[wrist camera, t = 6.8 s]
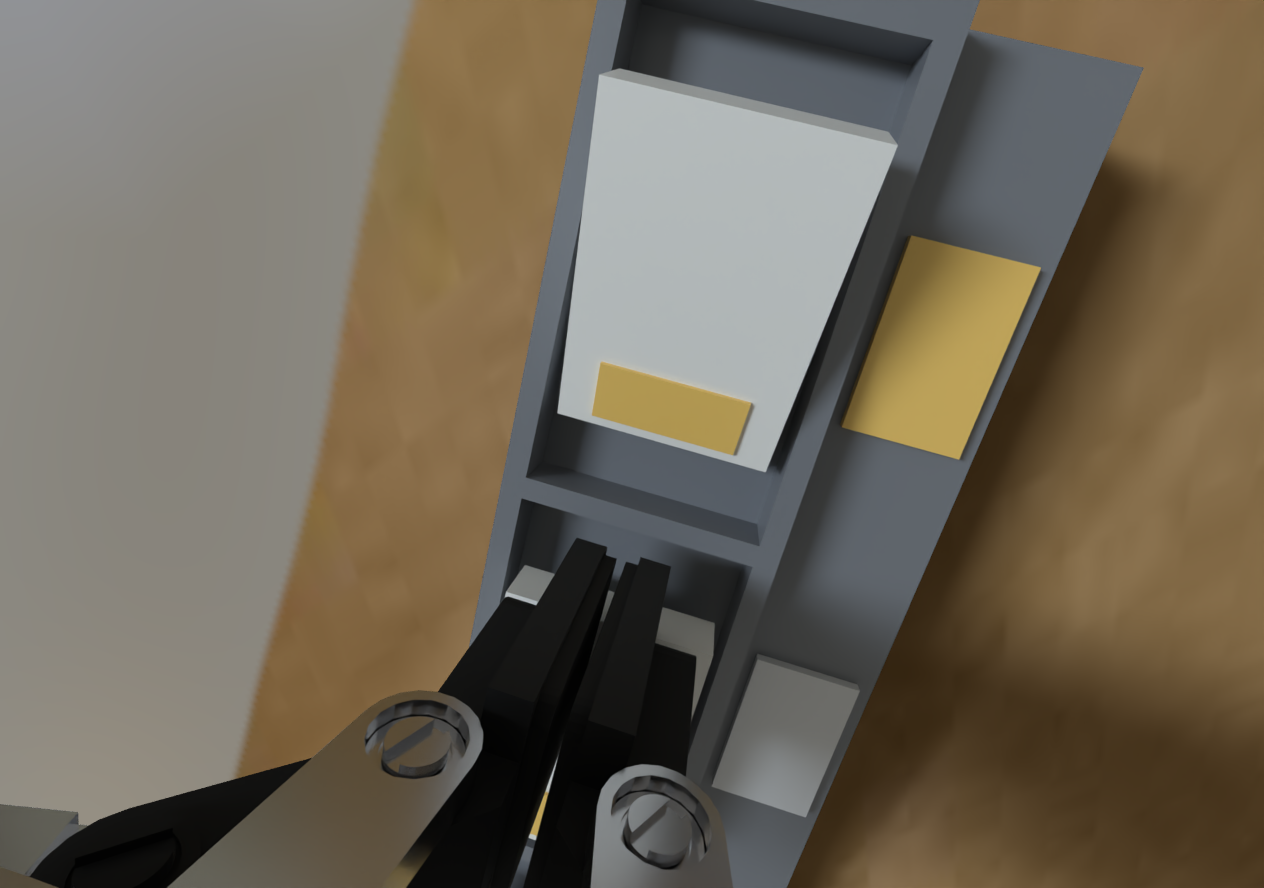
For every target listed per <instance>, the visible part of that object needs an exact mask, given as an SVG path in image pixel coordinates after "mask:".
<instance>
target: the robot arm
mask: <svg viewBox="0 0 1264 888" xmlns="http://www.w3.org/2000/svg"><path fill="white" fill-rule="evenodd" d="M606 552H607V547H606V546H603V545H600V544H596V543H593V542H590V541H587V540H583V539H580V538H576V539H575V541H574V543H573V544H572V546H571V548H570V549H569V551H568V553H567V554H566V556H565V558H564V559H563V561H562V563H561V565H560V566H559V568H558V570H557V571H556V573H555V575H554V576H553V578H552V580H551V581H550V583H549V585H548V586H547V588H546V590H545V591H544V593H543V595H542V597H541V598H540V600H539V602H538V603H537V605H534V604H531V603H527V602H524V601H521V600H518V599H515V598H512V597H509V596H508V597H505V598H504V600H503V601H502V602H501V603H500V605H499V606H498V607H497V609H496V610H495V612H494V613H493V615H492V616H491V617H490V619H489V620H488V622H487V623H486V624H485V626H484V627H483V629H482V630H481V632H480V633H479V634H478V636H477V637H476V639H475V640H474V641H473V643H472V644H471V646H470V647H469V649H468V650H467V651H466V653H465V654H464V656H463V657H462V658H461V660H460V661H459V663H458V664H457V666H456V667H455V668H454V670H453V671H452V673H451V674H450V675H449V677H448V678H447V680H446V681H445V683H444V684H443V685H442V687H441V688H440V690H439V691H438V692H433V691H421V690H418V691H410V692H403V693H398V694H395V695H393V696H390V697H387V698H384V699H382V700H380V701H379V702H377V703H376V704H374V705H373V706H371V707H370V708H368V709H367V710H365V711H364V712H363V713H362V714H361V715H360V716H359V717H358V718H356V719H355V720H354V721H353V722H352V723H351V724H350V725H349V726H347V727H346V728H345V729H344V730H343V731H342V732H341V733H340V734H339V735H337V736H336V737H335V738H334V739H333V740H332V741H331V742H330V743H328V744H327V745H326V746H325V747H324V748H323V749H322V750H321V751H319V752H318V753H317V754H316V755H315V756H314V757H313V758H310V759H306V760H303V761H299V762H295V763H292V764H288V765H285V766H281V767H277V768H274V769H270V770H266V771H263V772H259V773H256V774H252V775H248V776H245V777H241V778H238V779H234V780H230V781H227V782H223V783H220V784H216V785H212V786H209V787H205V788H201V789H198V790H195V791H191V792H187V793H183V794H180V795H176V796H173V797H169V798H165V799H162V800H158V801H155V802H151V803H147V804H144V805H140V806H136V807H133V808H129V809H127V810H124V811H121V812H118V813H116V814H113V815H110V816H108V817H105V818H103V819H100V820H98V821H96V822H94V823H92V824H91V825H89V826H87V825H78V812H70V811H60V810H50V809H41V808H32V807H21V806H12V805H2V804H0V888H511V885H512V882H513V879H514V877H515V874H516V871H517V868H518V866H519V863H520V860H521V857H522V855H523V852H524V849H525V846H526V844H527V841H528V838H529V835H530V832H531V830H532V827H533V824H534V821H535V819H536V816H537V813H538V810H539V808H540V805H541V802H542V799H543V797H544V794H545V791H546V788H547V786H548V783H549V780H550V777H551V775H552V772H553V769H554V766H555V764H556V767H555V770H554V774H553V778H552V781H551V785H550V789H549V793H548V796H547V800H546V804H545V808H544V811H543V815H542V819H541V822H540V826H539V830H538V834H537V837H536V841H535V845H534V849H533V852H532V856H531V860H530V863H529V867H528V871H527V875H526V878H525V882H524V886H523V888H733V884H732V877H731V870H730V863H729V856H728V849H727V842H726V835H725V830H724V827H723V824H722V820H721V817H720V814H719V812H718V810H717V809H716V807H715V806H714V804H713V802H712V801H711V799H710V798H709V796H708V795H707V794H706V793H705V792H704V791H703V790H702V789H701V788H700V787H699V786H698V785H697V784H696V783H695V782H693V781H692V780H690V779H688V778H687V777H686V771H687V760H688V749H689V738H690V727H691V717H692V706H693V695H694V684H695V674H696V660H697V658H696V656H695V655H692V654H689V653H685V652H682V651H679V650H676V649H673V648H670V647H666V646H663V645H660V644H657V643H655V641H656V636H657V632H658V627H659V622H660V617H661V613H662V608H663V603H664V598H665V593H666V589H667V584H668V579H669V574H670V570H671V566H668V565H665V564H662V563H659V562H655V561H652V560H649V559H645V558H642V557H640V560H639V563H638V565H636V564H633V563H630V562H626V563H625V566H624V568H623V571H622V574H621V577H620V579H619V582H618V585H617V587H616V590H615V593H614V595H613V598H612V601H611V604H610V606H609V609H608V612H607V614H606V617H605V620H604V623H603V625H602V628H601V631H600V633H599V636H598V639H597V642H596V644H595V647H594V650H593V652H592V648H593V644H594V641H595V637H596V633H597V630H598V626H599V622H600V619H601V616H602V612H603V609H604V605H605V601H606V598H607V594H608V590H609V587H610V583H611V579H612V576H613V572H614V568H615V564H616V560H617V558H613V557H610V556H607V555H606ZM591 652H592V655H591ZM590 655H591V658H590ZM589 659H590V660H589ZM557 758H558V759H557ZM556 761H557V763H556Z"/></svg>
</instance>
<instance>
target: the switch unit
mask: <svg viewBox="0 0 1264 888" xmlns="http://www.w3.org/2000/svg"><path fill="white" fill-rule="evenodd" d="M979 1H980V0H598V1H597V6H596V11H595V16H594V21H593V26H592V31H591V36H590V41H589V46H588V51H587V56H586V61H585V66H584V71H583V76H582V81H581V86H580V91H579V96H578V101H577V106H576V111H575V116H574V121H573V126H572V131H571V136H570V141H569V147H568V152H567V157H566V162H565V167H564V172H563V177H562V182H561V187H560V192H559V197H558V202H557V207H556V212H555V217H554V222H553V227H552V232H551V237H550V242H549V247H548V252H547V257H546V262H545V267H544V272H543V277H542V282H541V287H540V292H539V298H538V303H537V308H536V313H535V318H534V323H533V328H532V333H531V338H530V343H529V348H528V353H527V358H526V363H525V368H524V373H523V378H522V383H521V388H520V393H519V398H518V403H517V408H516V413H515V418H514V423H513V428H512V433H511V438H510V444H509V449H508V454H507V459H506V464H505V469H504V474H503V479H502V484H501V489H500V494H499V499H498V504H497V509H496V514H495V519H494V524H493V529H492V534H491V539H490V544H489V549H488V554H487V559H486V564H485V569H484V574H483V579H482V584H481V590H480V595H479V600H478V605H477V610H476V615H475V620H474V625H473V630H472V635H471V640H470V645H469V647H470V646H471V644H472V643H473V641H474V640H475V639H476V637H477V636H478V634H479V633H480V632H481V630H482V629H483V627H484V626H485V624H486V623H487V622H488V620H489V619H490V617H491V616H492V615H493V613H494V612H495V610H496V609H497V607H498V606H499V605H500V603H501V602H502V601H503V600H504V598H505V594H506V591H507V590H508V588H509V587H510V585H511V584H512V583H513V581H514V580H515V578H516V577H517V576H518V574H519V573H520V571H521V570H522V568H523V567H524V566H525V565H527V566H530V567H533V568H537V569H540V570H543V571H547V572H550V573H553V574H555V573H556V571H557V570H558V568H559V566H560V565H561V563H562V561H563V559H564V558H565V556H566V554H567V553H568V551H569V549H570V548H571V546H572V544H573V543H574V541H575V539H576V538H580V539H583V540H587V541H590V542H593V543H596V544H600V545H603V546H606V547H607V552H606V555H607V556H610V557H613V558H617V560H616V564H615V568H614V572H613V576H612V579H611V583H610V587H609V591H612V592H615V590H616V587H617V585H618V582H619V579H620V577H621V574H622V571H623V568H624V566H625V563H626V562H630V563H633V564H636V565H638V563H639V560H640V557H642V558H645V559H649V560H652V561H655V562H659V563H662V564H665V565H668V566H671V570H670V574H669V579H668V584H667V589H666V593H665V598H664V603H663V607H664V608H667V609H671V610H674V611H677V612H680V613H684V614H687V615H690V616H693V617H697V618H700V619H703V620H706V621H710V622H713V623H715V628H714V650H713V658H712V661H711V664H710V667H709V670H708V673H707V676H706V679H705V682H704V685H703V688H702V691H701V694H700V697H699V700H698V703H697V705H696V708H695V711H694V714H693V717H692V720H691V727H690V738H689V749H688V760H687V771H686V777H687V778H688V779H690V780H692V781H693V782H695V783H696V784H697V785H698V786H699V787H700V788H701V789H702V790H703V791H704V792H705V793H706V794H707V795H708V796H709V798H710V799H711V801H712V802H713V804H714V806H715V807H716V809H717V810H718V812H719V814H720V817H721V820H722V824H723V827H724V830H725V835H726V842H727V849H728V856H729V863H730V870H731V877H732V884H733V888H787V886H788V883H789V881H790V879H791V876H792V874H793V872H794V870H795V867H796V865H797V863H798V860H799V858H800V856H801V853H802V851H803V849H804V847H805V844H806V842H807V840H808V837H809V835H810V833H811V831H812V828H813V826H814V824H815V821H816V819H817V817H818V814H819V812H820V810H821V808H822V805H823V803H824V801H825V798H826V796H827V794H828V791H829V789H830V787H831V785H832V782H833V780H834V778H835V775H836V773H837V771H838V769H839V766H840V764H841V762H842V759H843V757H844V755H845V752H846V750H847V748H848V746H849V743H850V741H851V739H852V736H853V734H854V732H855V729H856V727H857V725H858V723H859V720H860V718H861V716H862V713H863V711H864V709H865V707H866V704H867V702H868V700H869V697H870V695H871V693H872V690H873V688H874V686H875V684H876V681H877V679H878V677H879V674H880V672H881V670H882V667H883V665H884V663H885V661H886V658H887V656H888V654H889V651H890V649H891V647H892V645H893V642H894V640H895V638H896V635H897V633H898V631H899V628H900V626H901V624H902V622H903V619H904V617H905V615H906V612H907V610H908V608H909V606H910V603H911V601H912V599H913V596H914V594H915V592H916V589H917V587H918V585H919V583H920V580H921V578H922V576H923V573H924V571H925V569H926V566H927V564H928V562H929V560H930V557H931V555H932V553H933V550H934V548H935V546H936V544H937V541H938V539H939V537H940V534H941V532H942V530H943V527H944V525H945V523H946V521H947V518H948V516H949V514H950V511H951V509H952V507H953V504H954V502H955V500H956V498H957V495H958V493H959V491H960V488H961V486H962V484H963V482H964V479H965V477H966V475H967V472H968V470H969V468H970V465H971V463H972V461H973V459H974V456H975V454H976V452H977V449H978V447H979V445H980V442H981V440H982V438H983V436H984V433H985V431H986V429H987V426H988V424H989V422H990V420H991V417H992V415H993V413H994V410H995V408H996V406H997V403H998V401H999V399H1000V397H1001V394H1002V392H1003V390H1004V387H1005V385H1006V383H1007V380H1008V378H1009V376H1010V374H1011V371H1012V369H1013V367H1014V364H1015V362H1016V360H1017V358H1018V355H1019V353H1020V351H1021V348H1022V346H1023V344H1024V341H1025V339H1026V337H1027V335H1028V332H1029V330H1030V328H1031V325H1032V323H1033V321H1034V319H1035V316H1036V314H1037V312H1038V309H1039V307H1040V305H1041V302H1042V300H1043V298H1044V296H1045V293H1046V291H1047V289H1048V286H1049V284H1050V282H1051V279H1052V277H1053V275H1054V273H1055V270H1056V268H1057V266H1058V263H1059V261H1060V259H1061V257H1062V254H1063V252H1064V250H1065V247H1066V245H1067V243H1068V240H1069V238H1070V236H1071V234H1072V231H1073V229H1074V227H1075V224H1076V222H1077V220H1078V217H1079V215H1080V213H1081V211H1082V208H1083V206H1084V204H1085V201H1086V199H1087V197H1088V195H1089V192H1090V190H1091V188H1092V185H1093V183H1094V181H1095V178H1096V176H1097V174H1098V172H1099V169H1100V167H1101V165H1102V162H1103V160H1104V158H1105V155H1106V153H1107V151H1108V149H1109V146H1110V144H1111V142H1112V139H1113V137H1114V135H1115V133H1116V130H1117V128H1118V126H1119V123H1120V121H1121V119H1122V116H1123V114H1124V112H1125V110H1126V107H1127V105H1128V103H1129V100H1130V98H1131V96H1132V93H1133V91H1134V89H1135V87H1136V84H1137V82H1138V80H1139V77H1140V75H1141V73H1142V71H1143V67H1138V66H1134V65H1129V64H1124V63H1120V62H1115V61H1111V60H1106V59H1102V58H1097V57H1093V56H1088V55H1084V54H1079V53H1074V52H1070V51H1065V50H1061V49H1056V48H1052V47H1047V46H1043V45H1038V44H1033V43H1029V42H1024V41H1020V40H1015V39H1011V38H1006V37H1002V36H997V35H993V34H988V33H983V32H979V31H974V30H970V26H971V23H972V20H973V18H974V15H975V12H976V9H977V6H978V3H979ZM619 68H620V69H624V70H628V71H633V72H637V73H641V74H645V75H650V76H654V77H658V78H662V79H667V80H671V81H675V82H679V83H684V84H688V85H692V86H696V87H701V88H705V89H709V90H713V91H718V92H722V93H726V94H730V95H735V96H739V97H743V98H747V99H752V100H756V101H760V102H764V103H769V104H773V105H777V106H781V107H786V108H790V109H794V110H798V111H803V112H807V113H811V114H815V115H820V116H824V117H828V118H832V119H837V120H841V121H845V122H849V123H853V124H858V125H862V126H866V127H870V128H875V129H879V130H883V131H887V132H889V133H890V135H891V136H892V137H893V139H894V140H895V142H896V143H897V145H898V146H897V149H896V151H895V154H894V156H893V159H892V161H891V164H890V166H889V169H888V171H887V174H886V176H885V179H884V181H883V184H882V186H881V188H880V191H879V193H878V196H877V198H876V201H875V203H874V206H873V208H872V211H871V213H870V216H869V218H868V221H867V223H866V225H865V228H864V230H863V233H862V235H861V238H860V240H859V243H858V245H857V248H856V250H855V253H854V255H853V258H852V260H851V262H850V265H849V267H848V270H847V272H846V275H845V277H844V280H843V282H842V285H841V287H840V290H839V292H838V295H837V297H836V300H835V302H834V304H833V307H832V309H831V312H830V314H829V317H828V319H827V322H826V324H825V327H824V329H823V332H822V334H821V337H820V339H819V341H818V344H817V346H816V349H815V351H814V354H813V356H812V359H811V361H810V364H809V366H808V369H807V371H806V374H805V376H804V378H803V381H802V383H801V386H800V388H799V391H798V393H797V396H796V398H795V401H794V403H793V406H792V408H791V411H790V413H789V416H788V418H787V420H786V423H785V425H784V428H783V430H782V433H781V435H780V438H779V440H778V443H777V445H776V448H775V450H774V453H773V455H772V457H771V460H770V462H769V465H768V467H767V470H766V472H762V471H759V470H755V469H752V468H748V467H745V466H741V465H738V464H734V463H731V462H727V461H724V460H720V459H717V458H713V457H710V456H706V455H702V454H699V453H695V452H692V451H688V450H685V449H681V448H678V447H674V446H671V445H667V444H664V443H660V442H657V441H653V440H650V439H646V438H643V437H639V436H636V435H632V434H629V433H625V432H622V431H618V430H615V429H611V428H608V427H604V426H601V425H597V424H593V423H590V422H586V421H583V420H579V419H576V418H572V417H569V416H565V415H562V414H558V413H557V412H558V404H559V396H560V388H561V380H562V372H563V364H564V355H565V347H566V339H567V331H568V323H569V315H570V307H571V299H572V291H573V282H574V274H575V266H576V258H577V250H578V242H579V234H580V226H581V218H582V209H583V201H584V193H585V185H586V177H587V169H588V161H589V153H590V145H591V137H592V128H593V120H594V112H595V104H596V96H597V88H598V80H599V74H603V73H606V72H609V71H612V70H616V69H619ZM535 841H536V840H533V839H530V838H528V841H527V844H526V846H525V849H524V852H523V855H522V857H521V860H520V863H519V866H518V868H517V871H516V874H515V877H514V879H513V882H512V885H511V888H523V886H524V882H525V878H526V875H527V871H528V867H529V863H530V860H531V856H532V852H533V849H534V845H535Z"/></svg>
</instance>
